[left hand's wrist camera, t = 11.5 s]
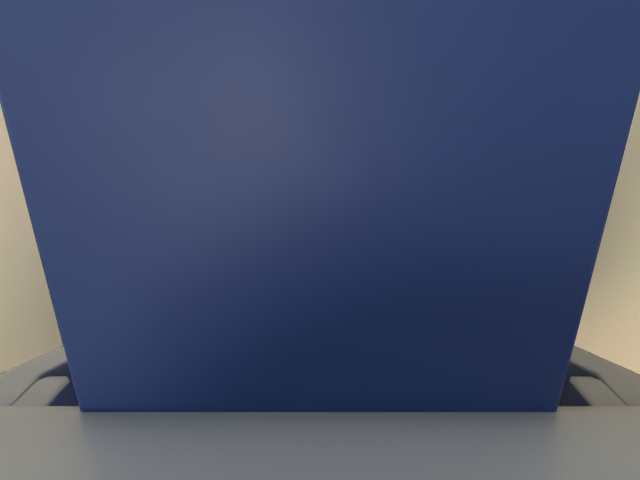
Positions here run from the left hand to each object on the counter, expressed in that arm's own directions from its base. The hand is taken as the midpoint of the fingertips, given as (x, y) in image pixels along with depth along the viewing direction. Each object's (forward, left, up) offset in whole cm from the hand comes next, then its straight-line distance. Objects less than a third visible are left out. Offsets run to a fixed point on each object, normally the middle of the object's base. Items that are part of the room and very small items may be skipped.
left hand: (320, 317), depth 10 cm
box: (+7, -1, -6) cm, 9 cm away
